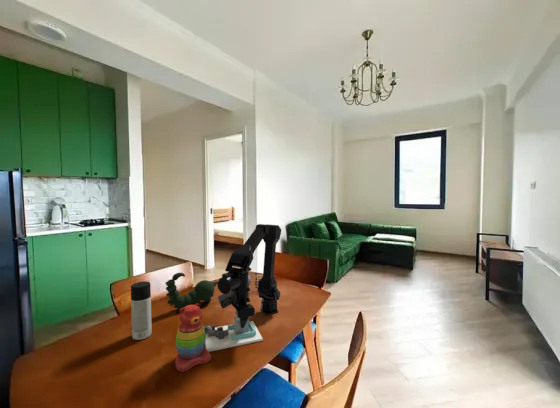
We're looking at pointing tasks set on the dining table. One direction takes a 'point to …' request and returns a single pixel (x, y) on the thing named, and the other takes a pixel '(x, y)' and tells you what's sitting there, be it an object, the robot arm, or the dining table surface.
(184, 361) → the stacking bear
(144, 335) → the spray can
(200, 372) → the dining table surface
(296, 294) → the dining table surface
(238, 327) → the block
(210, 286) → the toy figurine
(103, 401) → the dining table surface
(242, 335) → the end holder
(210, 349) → the board
